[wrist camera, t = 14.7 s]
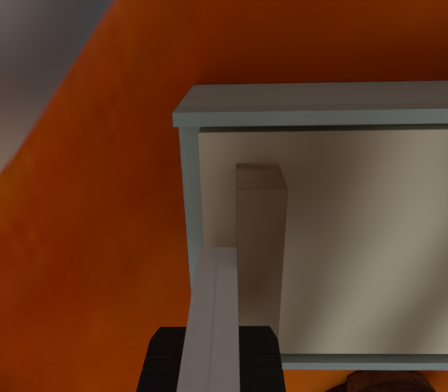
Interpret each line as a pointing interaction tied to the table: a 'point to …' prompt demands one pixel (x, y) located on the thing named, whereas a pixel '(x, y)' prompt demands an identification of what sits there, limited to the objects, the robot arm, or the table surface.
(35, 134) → the table surface
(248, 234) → the lid
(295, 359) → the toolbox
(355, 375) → the wooden figurine
